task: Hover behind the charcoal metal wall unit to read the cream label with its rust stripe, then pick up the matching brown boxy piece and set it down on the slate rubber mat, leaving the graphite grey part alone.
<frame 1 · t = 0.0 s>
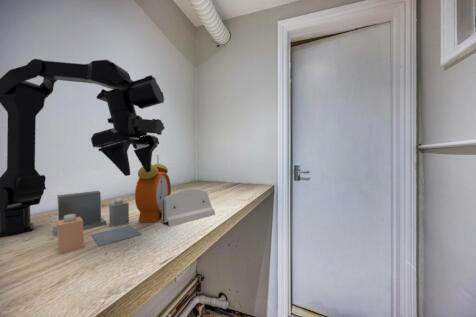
hand: (139, 173, 50), 15 cm above the worktop, tool pointing down, fingers open, 9 cm apart
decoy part: (119, 223, 59), on the worktop
alarm clock: (155, 217, 65), on the worktop
wall unit: (80, 227, 55), on the worktop
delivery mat: (116, 234, 50), on the worktop
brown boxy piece: (70, 247, 44), on the worktop
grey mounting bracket: (188, 218, 64), on the worktop
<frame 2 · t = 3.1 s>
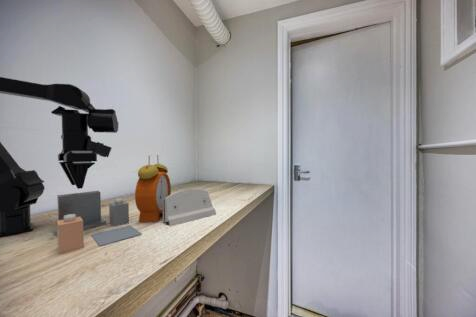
hand: (76, 186, 57), 11 cm above the worktop, tool pointing down, fingers open, 9 cm apart
nothing on the worktop moved.
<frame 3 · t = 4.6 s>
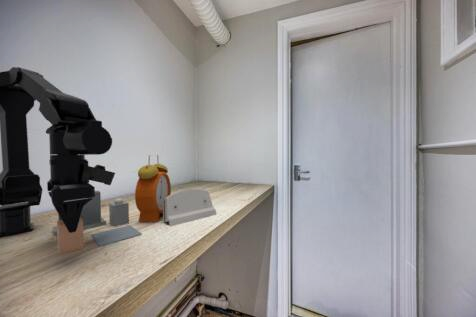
hand: (69, 226, 43), 5 cm above the worktop, tool pointing down, fingers open, 9 cm apart
nothing on the worktop moved.
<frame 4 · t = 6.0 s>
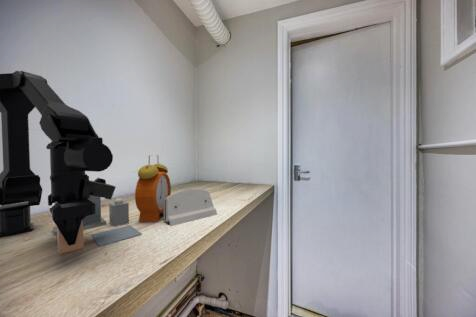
hand: (70, 241, 44), 1 cm above the worktop, tool pointing down, fingers closed on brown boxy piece, 4 cm apart
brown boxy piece: (70, 247, 44), on the worktop, touching gripper
everything else where it was.
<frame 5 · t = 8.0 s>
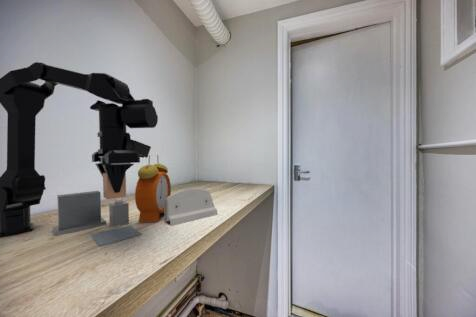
hand: (114, 191, 50), 11 cm above the worktop, tool pointing down, fingers closed on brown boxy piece, 4 cm apart
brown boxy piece: (114, 196, 50), point 10 cm above the worktop, touching gripper
everything else where it was.
when the fingers open (3 cm above the worktop, at t = 10.2 s): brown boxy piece drops 1 cm, resting on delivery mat.
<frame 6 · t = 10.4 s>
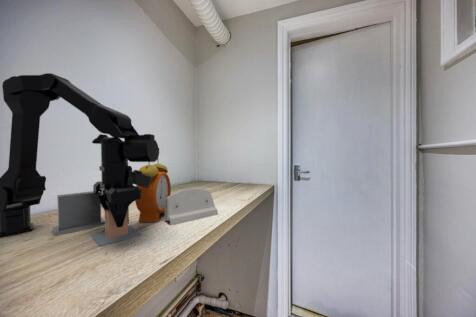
hand: (116, 223, 50), 3 cm above the worktop, tool pointing down, fingers open, 6 cm apart
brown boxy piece: (116, 234, 50), resting on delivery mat
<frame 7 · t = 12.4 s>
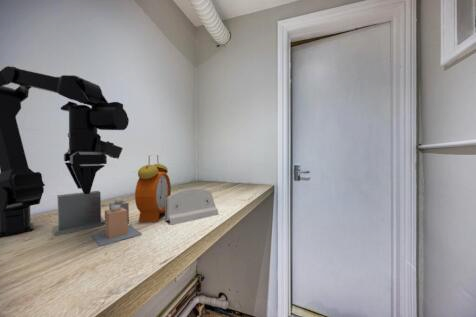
hand: (83, 191, 51), 11 cm above the worktop, tool pointing down, fingers open, 9 cm apart
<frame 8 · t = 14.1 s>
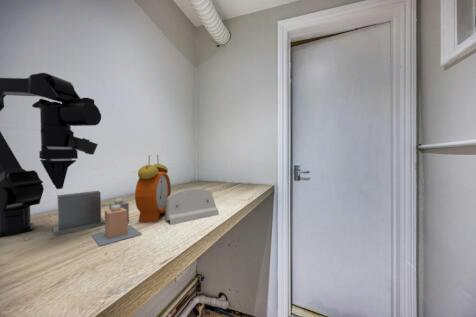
hand: (57, 186, 52), 12 cm above the worktop, tool pointing down, fingers open, 9 cm apart
at the end: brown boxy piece 0.0 cm from the target spot, resting on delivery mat; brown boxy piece tilted 0°; the gripper is holding nothing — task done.
